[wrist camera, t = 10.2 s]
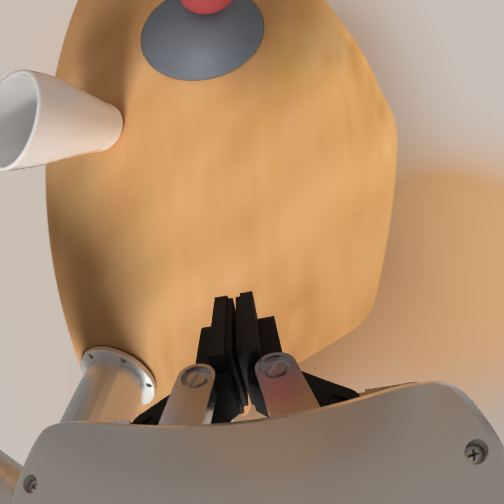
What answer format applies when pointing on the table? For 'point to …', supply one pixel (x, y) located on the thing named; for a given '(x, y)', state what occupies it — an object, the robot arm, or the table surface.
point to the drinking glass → (51, 121)
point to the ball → (205, 5)
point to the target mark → (201, 39)
